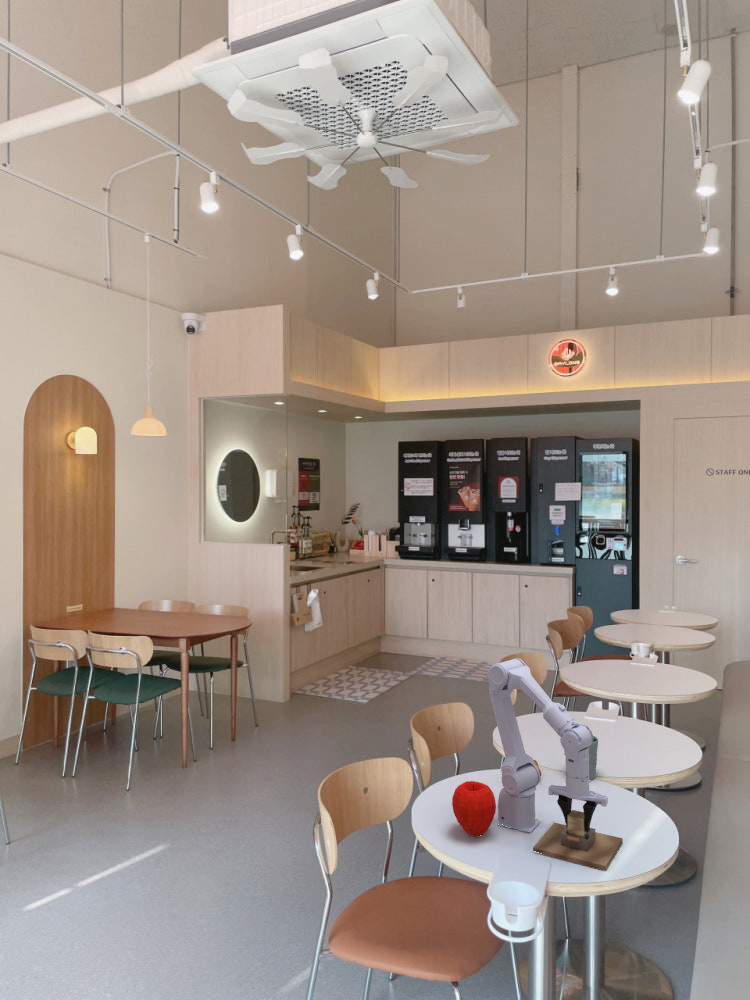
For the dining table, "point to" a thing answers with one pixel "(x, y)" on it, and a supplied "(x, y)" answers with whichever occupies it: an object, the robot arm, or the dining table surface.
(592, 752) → the green cup
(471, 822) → the apple
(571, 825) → the post
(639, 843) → the dining table surface
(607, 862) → the board
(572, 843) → the sleeve
